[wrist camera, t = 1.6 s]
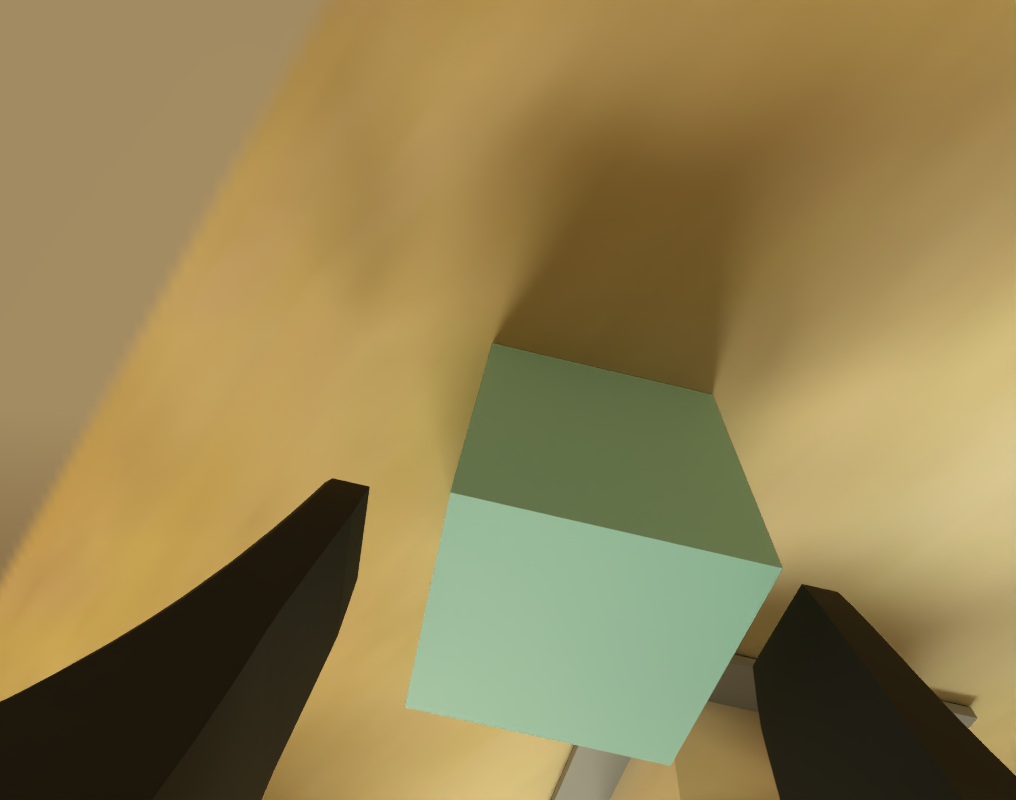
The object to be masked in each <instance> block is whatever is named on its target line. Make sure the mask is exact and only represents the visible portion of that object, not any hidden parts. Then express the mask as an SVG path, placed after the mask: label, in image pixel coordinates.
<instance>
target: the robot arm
mask: <svg viewBox="0 0 1016 800" xmlns="http://www.w3.org/2000/svg"><path fill="white" fill-rule="evenodd" d="M368 495H369V487H368V486H364V485H359V484H355V483H351V482H346V481H342V480H337V479H333V478H332V479H331V480H329V481H327V482H325V483H324V484H323V485H322V486H321V487H320V488H319V489H318V490H316V491H315V492H314V493H313V494H312V495H311V496H310V497H309V498H308V499H307V500H306V501H304V502H303V503H302V504H301V505H300V506H299V507H298V508H297V509H295V510H294V511H293V512H292V513H291V514H290V515H288V516H287V517H286V518H285V519H284V520H283V521H281V522H280V523H279V524H278V525H277V526H276V527H274V528H273V529H272V530H271V531H269V532H268V533H267V534H266V535H264V536H263V537H262V538H261V539H259V540H258V541H257V542H256V543H254V544H253V545H252V546H251V547H249V548H248V549H247V550H246V551H244V552H243V553H242V554H241V555H239V556H238V557H237V558H236V559H234V560H233V561H232V562H230V563H229V564H228V565H226V566H225V567H223V568H222V569H221V570H219V571H218V572H216V573H215V574H214V575H212V576H211V577H210V578H208V579H207V580H205V581H204V582H203V583H201V584H200V585H198V586H197V587H196V588H194V589H193V590H191V591H190V592H189V593H187V594H186V595H184V596H183V597H181V598H180V599H179V600H177V601H176V602H174V603H173V604H171V605H170V606H168V607H167V608H165V609H163V610H162V611H160V612H159V613H157V614H156V615H154V616H153V617H151V618H150V619H148V620H146V621H145V622H143V623H142V624H140V625H138V626H137V627H135V628H133V629H132V630H130V631H129V632H127V633H125V634H124V635H122V636H120V637H119V638H117V639H115V640H114V641H112V642H110V643H109V644H107V645H105V646H104V647H102V648H100V649H98V650H96V651H95V652H93V653H91V654H89V655H87V656H86V657H84V658H82V659H80V660H79V661H77V662H75V663H73V664H71V665H70V666H68V667H66V668H64V669H62V670H61V671H59V672H57V673H55V674H53V675H52V676H50V677H48V678H46V679H44V680H42V681H40V682H38V683H36V684H35V685H33V686H31V687H29V688H27V689H25V690H23V691H21V692H19V693H17V694H15V695H13V696H11V697H9V698H7V699H5V700H3V701H1V702H0V800H261V799H262V797H263V795H264V792H265V790H266V788H267V785H268V783H269V781H270V778H271V776H272V774H273V771H274V769H275V767H276V765H277V763H278V761H279V759H280V756H281V754H282V752H283V750H284V748H285V746H286V744H287V742H288V740H289V738H290V735H291V733H292V731H293V729H294V727H295V725H296V723H297V721H298V719H299V717H300V714H301V712H302V710H303V708H304V706H305V704H306V702H307V700H308V698H309V695H310V693H311V691H312V689H313V687H314V685H315V683H316V681H317V679H318V677H319V674H320V672H321V670H322V668H323V666H324V664H325V662H326V660H327V657H328V655H329V653H330V651H331V649H332V647H333V645H334V642H335V640H336V638H337V636H338V633H339V630H340V627H341V624H342V622H343V619H344V616H345V613H346V610H347V607H348V604H349V602H350V599H351V596H352V593H353V590H354V587H355V584H356V581H357V577H358V569H359V562H360V554H361V547H362V540H363V532H364V525H365V517H366V510H367V502H368ZM753 674H754V682H755V691H756V699H757V706H758V712H759V718H760V725H761V730H762V734H763V738H764V742H765V746H766V750H767V753H768V757H769V761H770V765H771V768H772V772H773V776H774V780H775V783H776V787H777V790H778V794H779V798H780V800H1016V776H1015V775H1014V774H1013V773H1012V772H1011V771H1010V770H1009V769H1008V768H1007V767H1006V766H1005V765H1004V764H1003V763H1002V762H1001V761H1000V760H999V759H998V758H997V757H996V756H995V755H994V754H993V753H992V752H991V751H990V750H989V749H988V748H987V747H986V746H985V745H984V744H983V743H982V742H981V741H980V740H979V739H978V738H977V737H976V736H975V735H974V734H973V733H972V732H971V731H970V730H969V729H968V728H967V727H966V726H965V725H964V724H963V723H962V722H961V721H960V720H959V719H958V718H957V717H956V715H955V714H954V713H953V712H952V711H951V710H950V709H949V708H948V707H947V706H946V705H945V704H944V703H943V702H942V701H941V700H940V699H939V698H938V697H937V696H936V694H935V693H934V692H933V691H932V690H931V689H930V688H929V687H928V686H927V685H926V684H925V683H924V682H923V681H922V680H921V678H920V677H919V676H918V675H917V674H916V673H915V672H914V671H913V670H912V669H911V668H910V667H909V666H908V664H907V663H906V662H905V661H904V660H903V659H902V658H901V657H900V656H899V655H898V654H897V653H896V652H895V650H894V649H893V648H892V647H891V646H890V645H889V644H888V643H887V642H886V641H885V640H884V639H883V638H882V636H881V635H880V634H879V633H878V632H877V631H876V630H875V629H874V628H873V627H872V626H871V625H870V624H869V623H868V622H867V621H866V620H865V618H864V617H863V616H862V615H861V614H860V613H859V612H858V611H857V610H856V609H855V608H854V607H853V606H852V605H851V604H850V603H849V602H848V601H847V600H846V599H845V598H844V597H842V596H841V595H840V594H839V593H838V592H835V591H830V590H826V589H821V588H817V587H813V586H808V585H804V584H802V585H801V587H800V588H799V590H798V592H797V593H796V595H795V596H794V598H793V600H792V601H791V603H790V605H789V606H788V608H787V610H786V611H785V613H784V615H783V616H782V618H781V620H780V621H779V623H778V625H777V626H776V628H775V630H774V631H773V633H772V635H771V636H770V638H769V640H768V641H767V643H766V645H765V646H764V648H763V650H762V651H761V653H760V655H759V656H758V658H757V660H756V661H755V663H754V665H753Z"/></svg>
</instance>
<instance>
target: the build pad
mask: <svg viewBox="0 0 1016 800" xmlns="http://www.w3.org/2000/svg"><path fill="white" fill-rule="evenodd" d="M756 660H757V659H752V658H748V657H743V656H739V655H733V657H732V659H731V660H730V662H729V664H728V666H727V667H726V669H725V671H724V673H723V674H722V676H721V678H720V680H719V681H718V683H717V685H716V687H715V688H714V690H713V692H712V694H711V696H710V697H709V699H708V701H709V702H714V703H718V704H723V705H727V706H732V707H736V708H741V709H745V710H750V711H754V712H758V706H757V699H756V691H755V682H754V674H753V665H754V663H755V661H756ZM942 702H943V703H944V704H945V705H946V706H947V707H948V708H949V709H950V710H951V711H952V712H953V713H954V714H955V715H956V717H957V718H958V719H959V720H960V721H961V722H962V723H963V724H964V725H965V726H966V727H967V728H969V727H970V726H971V725H972V724H973V723H974V721H975V720H976V719H977V717H976V715H975V714H974V712H973V710H972V709H971V707H966V706H962V705H957V704H953V703H948V702H944V701H942ZM630 759H631V757H628V756H623V755H619V754H614V753H609V752H605V751H600V750H596V749H591V748H587V747H582V746H578V745H574V747H573V750H572V752H571V754H570V757H569V759H568V761H567V764H566V766H565V768H564V770H563V773H562V775H561V777H560V780H559V782H558V784H557V787H556V789H555V791H554V793H553V796H552V798H551V800H609V799H610V797H611V796H612V794H613V792H614V790H615V788H616V786H617V784H618V782H619V780H620V778H621V776H622V774H623V772H624V770H625V768H626V766H627V764H628V762H629V760H630Z"/></svg>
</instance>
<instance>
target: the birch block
mask: <svg viewBox="0 0 1016 800" xmlns="http://www.w3.org/2000/svg"><path fill="white" fill-rule="evenodd" d="M609 800H780V798H779V794H778V790H777V787H776V783H775V780H774V776H773V772H772V768H771V765H770V761H769V757H768V753H767V750H766V746H765V742H764V738H763V734H762V730H761V725H760V718H759V712H754V711H750V710H745V709H741V708H736V707H732V706H727V705H723V704H718V703H714V702H709V701H707V703H706V704H705V706H704V708H703V710H702V711H701V713H700V715H699V717H698V718H697V720H696V722H695V724H694V725H693V727H692V729H691V731H690V732H689V734H688V736H687V738H686V739H685V741H684V743H683V745H682V747H681V748H680V750H679V752H678V754H677V755H676V757H675V759H674V761H673V762H672V764H671V766H668V765H664V764H659V763H655V762H650V761H646V760H641V759H637V758H632V757H631V759H630V760H629V762H628V764H627V766H626V768H625V770H624V772H623V774H622V776H621V778H620V780H619V782H618V784H617V786H616V788H615V790H614V792H613V794H612V796H611V797H610V799H609Z"/></svg>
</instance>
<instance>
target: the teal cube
mask: <svg viewBox="0 0 1016 800" xmlns="http://www.w3.org/2000/svg"><path fill="white" fill-rule="evenodd" d="M782 569H783V568H782V565H781V563H780V560H779V558H778V555H777V553H776V550H775V548H774V545H773V543H772V540H771V538H770V536H769V533H768V531H767V528H766V526H765V523H764V521H763V518H762V516H761V513H760V511H759V508H758V506H757V503H756V501H755V498H754V496H753V493H752V491H751V489H750V486H749V484H748V481H747V479H746V476H745V474H744V471H743V469H742V466H741V464H740V461H739V459H738V456H737V454H736V451H735V449H734V446H733V444H732V442H731V439H730V437H729V434H728V432H727V429H726V427H725V424H724V422H723V419H722V417H721V414H720V412H719V409H718V407H717V404H716V402H715V400H714V397H713V395H712V394H708V393H704V392H700V391H695V390H691V389H687V388H683V387H678V386H674V385H670V384H665V383H661V382H657V381H653V380H648V379H644V378H640V377H636V376H631V375H627V374H623V373H618V372H614V371H610V370H606V369H601V368H597V367H593V366H588V365H584V364H580V363H576V362H571V361H567V360H563V359H559V358H554V357H550V356H546V355H541V354H537V353H533V352H529V351H524V350H520V349H516V348H512V347H507V346H503V345H499V344H494V343H492V346H491V349H490V353H489V357H488V360H487V364H486V367H485V371H484V374H483V378H482V382H481V385H480V389H479V392H478V396H477V399H476V403H475V407H474V410H473V414H472V417H471V421H470V424H469V428H468V431H467V435H466V439H465V442H464V446H463V449H462V453H461V456H460V460H459V464H458V467H457V471H456V474H455V478H454V481H453V485H452V489H451V492H450V497H449V501H448V506H447V511H446V516H445V520H444V525H443V530H442V534H441V539H440V544H439V549H438V553H437V558H436V563H435V567H434V572H433V577H432V581H431V586H430V591H429V596H428V600H427V605H426V610H425V614H424V619H423V624H422V629H421V633H420V638H419V643H418V647H417V652H416V657H415V661H414V666H413V671H412V676H411V680H410V685H409V690H408V694H407V699H406V704H405V708H410V709H415V710H419V711H424V712H428V713H433V714H437V715H442V716H446V717H451V718H455V719H460V720H464V721H469V722H473V723H478V724H483V725H487V726H492V727H496V728H501V729H505V730H510V731H514V732H519V733H523V734H528V735H532V736H537V737H541V738H546V739H551V740H555V741H560V742H564V743H569V744H573V745H578V746H582V747H587V748H591V749H596V750H600V751H605V752H609V753H614V754H619V755H623V756H628V757H632V758H637V759H641V760H646V761H650V762H655V763H659V764H664V765H668V766H671V764H672V762H673V761H674V759H675V757H676V755H677V754H678V752H679V750H680V748H681V747H682V745H683V743H684V741H685V739H686V738H687V736H688V734H689V732H690V731H691V729H692V727H693V725H694V724H695V722H696V720H697V718H698V717H699V715H700V713H701V711H702V710H703V708H704V706H705V704H706V703H707V701H708V699H709V697H710V696H711V694H712V692H713V690H714V688H715V687H716V685H717V683H718V681H719V680H720V678H721V676H722V674H723V673H724V671H725V669H726V667H727V666H728V664H729V662H730V660H731V659H732V657H733V655H734V653H735V652H736V650H737V648H738V646H739V645H740V643H741V641H742V639H743V637H744V636H745V634H746V632H747V630H748V629H749V627H750V625H751V623H752V622H753V620H754V618H755V616H756V615H757V613H758V611H759V609H760V608H761V606H762V604H763V602H764V601H765V599H766V597H767V595H768V594H769V592H770V590H771V588H772V586H773V585H774V583H775V581H776V579H777V578H778V576H779V574H780V572H781V571H782Z"/></svg>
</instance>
